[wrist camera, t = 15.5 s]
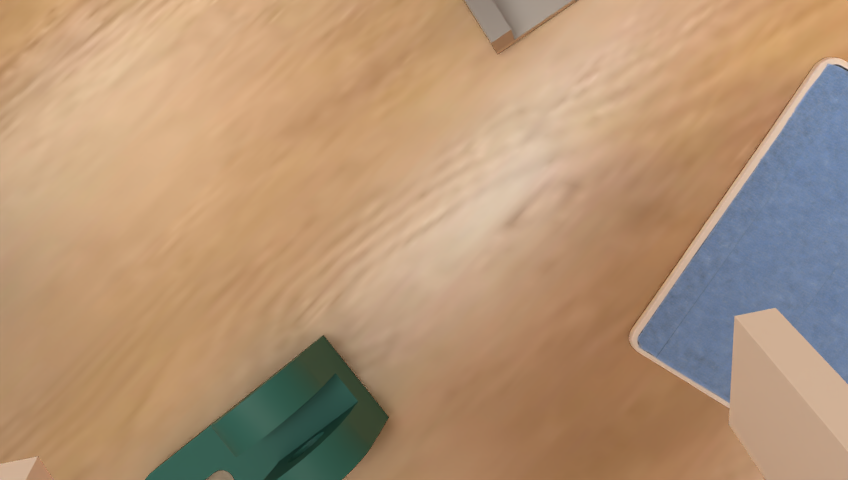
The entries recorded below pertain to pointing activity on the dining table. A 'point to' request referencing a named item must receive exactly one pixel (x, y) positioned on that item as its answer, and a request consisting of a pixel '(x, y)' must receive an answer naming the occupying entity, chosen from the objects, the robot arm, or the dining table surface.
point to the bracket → (288, 426)
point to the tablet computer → (766, 247)
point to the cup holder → (513, 18)
